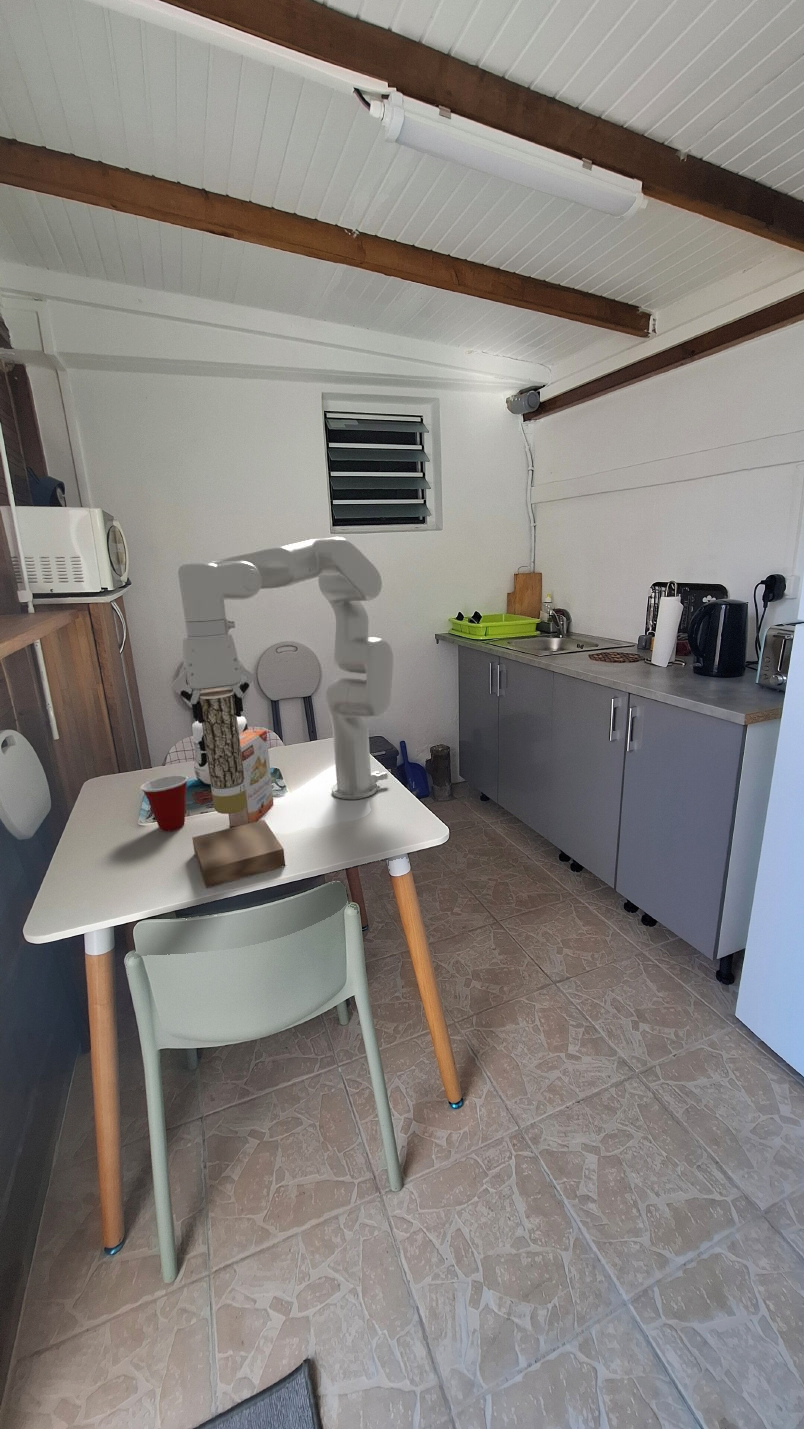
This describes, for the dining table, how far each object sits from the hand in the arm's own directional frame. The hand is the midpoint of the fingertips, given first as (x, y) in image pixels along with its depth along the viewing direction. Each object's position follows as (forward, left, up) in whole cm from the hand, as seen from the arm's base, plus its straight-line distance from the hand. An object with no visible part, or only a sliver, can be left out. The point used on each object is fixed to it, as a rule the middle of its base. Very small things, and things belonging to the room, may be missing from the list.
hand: (219, 717), depth 112 cm
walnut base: (0, 0, -32) cm, 32 cm away
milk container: (-7, -51, -32) cm, 61 cm away
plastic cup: (+11, -26, -32) cm, 43 cm away
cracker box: (-8, -21, -32) cm, 39 cm away
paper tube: (0, 0, -20) cm, 20 cm away
